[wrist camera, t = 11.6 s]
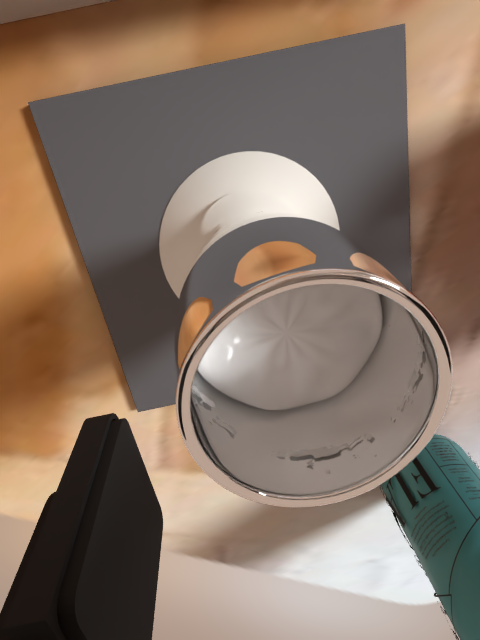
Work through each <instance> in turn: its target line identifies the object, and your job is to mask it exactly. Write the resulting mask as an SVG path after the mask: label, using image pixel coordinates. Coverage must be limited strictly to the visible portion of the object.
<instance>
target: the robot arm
mask: <svg viewBox="0 0 480 640" xmlns="http://www.w3.org/2000/svg"><path fill="white" fill-rule="evenodd" d="M162 531H163V516H162V511H161V507H160V505H159V502H158V499H157V497H156V494H155V491H154V489H153V486H152V484H151V481H150V478H149V476H148V473H147V470H146V468H145V465H144V462H143V460H142V457H141V455H140V452H139V449H138V447H137V444H136V441H135V439H134V436H133V434H132V431H131V428H130V426H129V423H128V421H127V420H126V419H125V418H123V419H118V417H117V415H116V414H114V413H112V414H107V415H102V416H97V417H92V418H88V419H86V420H85V421H84V423H83V425H82V428H81V430H80V433H79V435H78V438H77V440H76V443H75V446H74V448H73V451H72V453H71V456H70V458H69V461H68V463H67V466H66V468H65V471H64V473H63V476H62V478H61V481H60V484H59V486H58V489H57V491H56V492H54V493H53V494H51V495H50V496H49V498H48V500H47V502H46V503H45V506H44V508H43V511H42V513H41V515H40V518H39V520H38V523H37V525H36V528H35V530H34V533H33V535H32V537H31V540H30V542H29V545H28V547H27V550H26V552H25V554H24V557H23V559H22V562H21V564H20V567H19V569H18V572H17V574H16V577H15V579H14V581H13V584H12V586H11V589H10V591H9V594H8V596H7V598H6V601H5V603H4V606H3V608H2V611H1V613H0V640H152V631H153V621H154V611H155V601H156V590H157V581H158V571H159V561H160V551H161V541H162Z"/></svg>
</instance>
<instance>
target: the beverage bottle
mask: <svg viewBox="0 0 480 640" xmlns="http://www.w3.org/2000/svg"><path fill="white" fill-rule="evenodd" d="M471 457H472V456H471ZM471 457H470V458H469V457H468V455H467V454H466V453H465V452H464V450H463V449H462V448H461V447H460V446H459V445H458V444H456V443H455V442H453V441H452V440H450V439H449V438H446V437H444V436H441V435H435V434H434V435H433V437H432V438H431V440H430V441H429V443H428V444H427V445H426V447H425V448H424V449H423V450H422V451H421V453H420V454H419V455H418V456H417V457H416V458H415V459H414V460H413V461H412V462H411V463H410V464H409V465H408V466H406V467H405V468H404V469H403V470H402V471H400V472H399V473H398V474H396V475H395V476H394V477H392V478H391V479H389V480H388V481H386V482H385V483H383V484H381V486H382V489H383V491H384V493H385V495H386V501H387V502H388V503H389V506H390V507H391V508H392V510H393V511H394V512H393V511H392V510H391V511H392V512H393V515H394V517H395V520H396V522H397V524H398V526H399V523H398V520H399V522H400V524H401V526H402V528H403V530H404V532H405V534H406V536H407V538H408V540H409V542H410V543H411V545H412V547H413V548H412V547H411V545H410V547H411V548H412V549H413V550H414V551H415V553H416V555H417V556H416V555H415V556H416V557H418V559H419V561H420V562H419V561H418V562H419V563H420V564H421V565H422V566H421V565H420V567H421V568H422V567H423V568H424V570H425V572H426V574H427V575H426V576H428V578H429V580H430V582H431V584H432V586H433V588H434V590H435V592H436V593H435V594H434V596H435V597H439V599H440V601H441V603H442V605H443V607H444V609H445V610H444V611H445V612H446V614H447V615H448V617H449V618H450V620H451V622H452V624H453V626H454V629H455V630H456V632H457V634H458V636H459V638H460V640H480V470H479V469H478V468H479V467H478V468H477V466H476V465H475V464H476V463H473V461H472V460H471ZM381 486H380V488H381ZM384 493H383V496H384ZM396 516H397V518H398V520H397V518H396ZM399 528H400V526H399ZM400 530H401V529H400ZM401 532H402V530H401ZM402 534H403V533H402ZM404 537H405V535H404ZM405 538H406V537H405ZM408 540H407V541H408ZM409 542H408V543H409ZM419 563H418V564H419ZM436 594H437V595H436ZM437 602H438V601H437ZM453 632H454V631H453ZM454 634H456V633H454ZM456 636H457V635H456ZM457 638H458V637H457ZM458 640H459V639H458Z"/></svg>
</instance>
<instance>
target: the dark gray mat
mask: <svg viewBox="0 0 480 640" xmlns="http://www.w3.org/2000/svg"><path fill="white" fill-rule="evenodd" d="M28 104H29V107H30V110H31V112H32V115H33V118H34V121H35V124H36V126H37V129H38V132H39V135H40V138H41V141H42V143H43V146H44V149H45V152H46V155H47V157H48V160H49V163H50V166H51V169H52V172H53V174H54V177H55V180H56V183H57V186H58V188H59V191H60V194H61V197H62V200H63V202H64V205H65V208H66V211H67V214H68V217H69V219H70V222H71V225H72V228H73V231H74V233H75V236H76V239H77V242H78V245H79V247H80V250H81V253H82V256H83V259H84V262H85V264H86V267H87V270H88V273H89V276H90V278H91V281H92V284H93V287H94V290H95V292H96V295H97V298H98V301H99V304H100V307H101V309H102V312H103V315H104V318H105V321H106V323H107V326H108V329H109V332H110V335H111V337H112V340H113V343H114V346H115V349H116V352H117V354H118V357H119V360H120V363H121V366H122V368H123V371H124V374H125V377H126V380H127V382H128V385H129V388H130V391H131V394H132V397H133V399H134V402H135V405H136V408H137V411H138V412H141V411H145V410H150V409H155V408H159V407H164V406H169V405H174V404H176V390H177V385H176V373H175V354H174V338H175V320H176V312H177V307H178V302H179V297H180V293H181V289H182V285H183V282H184V280H185V277H186V275H187V273H188V271H189V269H190V267H191V265H192V263H193V261H194V259H195V258H194V252H193V242H194V235H195V231H196V228H197V225H198V223H199V221H200V219H201V217H202V216H203V214H204V213H205V212H206V211H207V209H208V208H209V207H210V206H211V205H212V204H213V203H215V202H216V201H217V200H219V199H220V198H222V197H224V196H226V195H228V194H230V193H233V192H237V191H242V190H258V191H263V192H266V193H269V194H272V195H274V196H276V197H278V198H280V199H281V200H283V201H284V202H285V203H287V204H288V205H289V206H290V207H291V209H292V210H293V211H294V213H295V214H299V215H303V216H307V217H311V218H314V219H317V220H320V221H322V222H324V223H327V224H329V225H330V226H332V227H334V228H336V229H337V230H339V231H341V232H343V233H344V234H346V235H348V236H349V237H351V238H352V239H354V240H355V241H356V242H358V243H359V244H360V245H361V246H363V247H364V248H365V249H366V250H367V251H369V252H370V253H371V254H372V255H373V256H375V257H376V258H377V259H378V260H379V261H380V262H381V263H382V264H383V265H384V266H385V267H386V268H387V269H388V270H389V271H390V272H391V273H392V274H393V275H394V276H395V277H396V278H397V279H398V280H399V281H400V282H401V284H402V285H403V286H404V287H405V288H406V289H407V290H408V291H409V292H411V254H410V212H409V170H408V127H407V85H406V42H405V24H401V25H396V26H391V27H387V28H382V29H377V30H372V31H367V32H363V33H358V34H353V35H348V36H343V37H339V38H334V39H329V40H324V41H320V42H315V43H310V44H305V45H300V46H296V47H291V48H286V49H281V50H276V51H272V52H267V53H262V54H257V55H253V56H248V57H243V58H238V59H233V60H229V61H224V62H219V63H214V64H210V65H205V66H200V67H195V68H190V69H186V70H181V71H176V72H171V73H166V74H162V75H157V76H152V77H147V78H143V79H138V80H133V81H128V82H123V83H119V84H114V85H109V86H104V87H99V88H95V89H90V90H85V91H80V92H76V93H71V94H66V95H61V96H56V97H52V98H47V99H42V100H37V101H33V102H28Z"/></svg>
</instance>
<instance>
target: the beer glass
mask: <svg viewBox="0 0 480 640" xmlns="http://www.w3.org/2000/svg"><path fill="white" fill-rule="evenodd" d="M193 252H194V258H195V259H194V261H193V263H192V265H191V267H190V269H189V271H188V273H187V275H186V277H185V280H184V282H183V285H182V289H181V293H180V297H179V302H178V307H177V312H176V320H175V338H174V354H175V373H176V385H177V390H176V415H177V421H178V426H179V430H180V433H181V436H182V439H183V441H184V443H185V446H186V448H187V449H188V451H189V453H190V455H191V456H192V458H193V459H194V460H195V462H196V463H197V464H198V466H199V467H200V468H201V469H202V470H203V471H204V472H205V473H206V474H207V475H208V476H209V477H210V478H211V479H213V480H214V481H215V482H217V483H218V484H219V485H221V486H222V487H224V488H225V489H227V490H229V491H231V492H233V493H235V494H237V495H239V496H241V497H243V498H246V499H249V500H252V501H255V502H258V503H262V504H267V505H272V506H280V507H314V506H322V505H327V504H332V503H337V502H341V501H344V500H347V499H350V498H353V497H356V496H358V495H361V494H363V493H366V492H368V491H370V490H372V489H374V488H376V487H378V486H379V485H381V484H383V483H385V482H386V481H388V480H389V479H391V478H392V477H394V476H395V475H396V474H398V473H399V472H400V471H402V470H403V469H404V468H405V467H406V466H408V465H409V464H410V463H411V462H412V461H413V460H414V459H415V458H416V457H417V456H418V455H419V454H420V453H421V451H422V450H423V449H424V448H425V447H426V445H427V444H428V443H429V441H430V440H431V438H432V437H433V435H434V434H435V432H436V430H437V429H438V427H439V425H440V423H441V421H442V419H443V417H444V414H445V411H446V409H447V406H448V402H449V399H450V394H451V389H452V379H453V367H452V357H451V352H450V348H449V345H448V341H447V339H446V336H445V334H444V332H443V330H442V328H441V326H440V324H439V322H438V321H437V319H436V318H435V316H434V315H433V314H432V312H431V311H430V310H429V309H428V308H427V306H426V305H425V304H424V303H423V302H422V301H421V300H419V299H418V298H417V297H416V296H415V295H413V294H412V293H411V292H409V291H408V290H407V289H406V288H405V287H404V286H403V285H402V284H401V282H400V281H399V280H398V279H397V278H396V277H395V276H394V275H393V274H392V273H391V272H390V271H389V270H388V269H387V268H386V267H385V266H384V265H383V264H382V263H381V262H380V261H379V260H378V259H377V258H376V257H375V256H373V255H372V254H371V253H370V252H369V251H367V250H366V249H365V248H364V247H363V246H361V245H360V244H359V243H358V242H356V241H355V240H354V239H352V238H351V237H349V236H348V235H346V234H344V233H343V232H341V231H339V230H337V229H336V228H334V227H332V226H330V225H329V224H327V223H324V222H322V221H320V220H317V219H314V218H311V217H307V216H303V215H299V214H295V213H294V211H293V210H292V209H291V207H290V206H289V205H288V204H287V203H285V202H284V201H283V200H281V199H280V198H278V197H276V196H274V195H272V194H269V193H266V192H263V191H258V190H242V191H237V192H233V193H230V194H228V195H226V196H224V197H222V198H220V199H219V200H217V201H216V202H215V203H213V204H212V205H211V206H210V207H209V208H208V209H207V211H206V212H205V213H204V214H203V216H202V217H201V219H200V221H199V223H198V225H197V228H196V231H195V235H194V242H193Z"/></svg>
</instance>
